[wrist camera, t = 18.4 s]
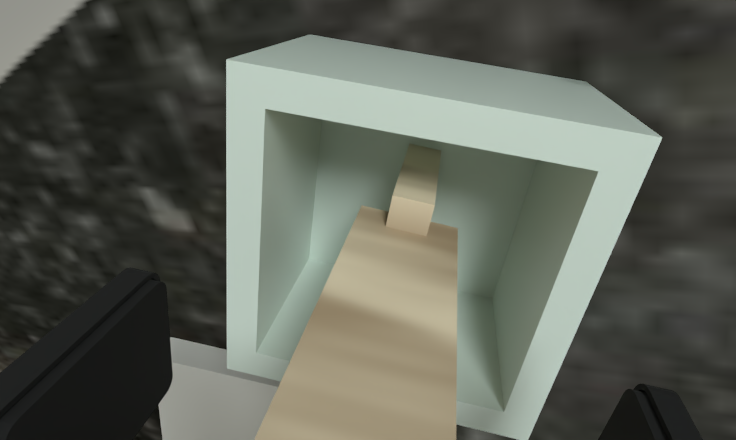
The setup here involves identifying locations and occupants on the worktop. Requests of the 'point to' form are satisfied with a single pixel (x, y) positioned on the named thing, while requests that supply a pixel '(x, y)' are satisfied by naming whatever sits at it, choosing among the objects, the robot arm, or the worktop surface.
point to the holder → (452, 205)
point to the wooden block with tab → (380, 328)
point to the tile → (212, 396)
